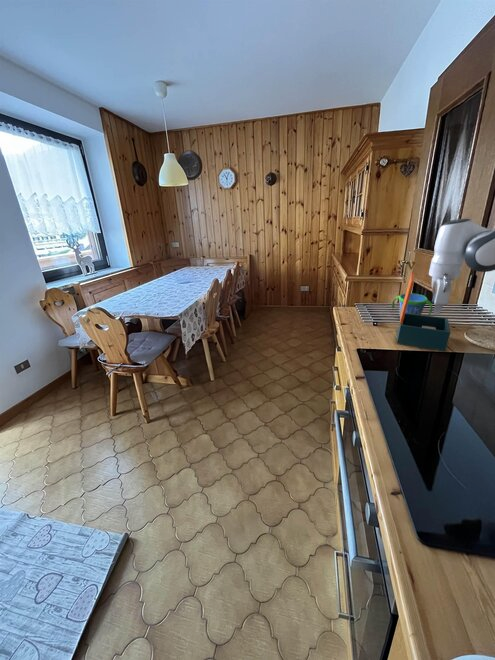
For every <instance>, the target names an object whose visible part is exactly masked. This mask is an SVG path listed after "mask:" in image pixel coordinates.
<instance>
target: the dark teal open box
mask: <svg viewBox="0 0 495 660" xmlns="http://www.w3.org/2000/svg"><path fill="white" fill-rule="evenodd" d="M422 326H429V327H436V329H429V328H422ZM451 333H452V332H451V326H450V322H449V318H448V317H442V316H432V315H429V316H428V315H424V314H421V315H417V314H409V313H405V316H404V319H403V323H402V324H400V323H399V324H398V329H397V339H396V340H397V341H396V344H397V345H404V346H410V347H416V348H423V349H429V350H433V351H434V350H435V351H441V352H446V350H447V346H448V343H449V340H450V336H451Z"/></svg>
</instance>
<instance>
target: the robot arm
mask: <svg viewBox="0 0 495 660" xmlns="http://www.w3.org/2000/svg"><path fill="white" fill-rule="evenodd" d="M433 251H434V253H433V257H432V258H431V261H430V266H429V270H428V276H430V277H431V291H432V300H431V304H432V305H434V308H433V314H434V315H440V314H441V311H442V308H443V307H446V306H447V305H448V304H449V301H450V296H451V292H452V287H453V286H452V285H453V284H452V283H453V282H454V281H455V279H458V278H460V275H461V272H462V268H463V264H464V262H465V264H466V266H467V267H468V268H469V269H471V270H472V271H476V272H478V273H488V272H494V271H495V229H490V228H488V227H485V226H482V225H480V224H477V223H476V222H474V221H473V220H472V219H471V218H457V219H452V220H448V221H446V222H445V223H443V224H442V225H441V226H440V228H439V230H438V232H437V235H436V239H435V244H434V247H433Z"/></svg>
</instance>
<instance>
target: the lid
mask: <svg viewBox="0 0 495 660" xmlns="http://www.w3.org/2000/svg"><path fill="white" fill-rule="evenodd" d="M409 276H410V277H409V280H408V283H407V287H406V291H405V293H404V294H405V298H404V302H403V305H402V309H401V316H400V315H399V324H402V323H403V319H404V316H405V312H406V309H407V305H408V302H409V298H410V295H411V293H412V291H413V287H414V283H415V272H414V271H411V273H410V275H409Z"/></svg>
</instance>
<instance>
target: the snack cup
mask: <svg viewBox="0 0 495 660" xmlns="http://www.w3.org/2000/svg"><path fill="white" fill-rule="evenodd" d="M405 294H406V293H402V294H400V295H397V296H396V297H394V298H393V300H392V302H391V309H394V308H395V301H396V300H397V299H398V301H399V317H400V316H401V309H402V305H403V302H404V298H405ZM426 304H427V305H429V311H428V314H427V316H431V314H432V313H433V310H434V308H433V307H434V306H433V303H432V301H430V300H429V299H428V297H427V296H426V295H423V294H421V293H420V294H419V293H413V292H411V295H410V298H409V302H408V305H407V309H406V312H405V313H409V314H417V315H422V313H423V310H424V308H425V305H426Z"/></svg>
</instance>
